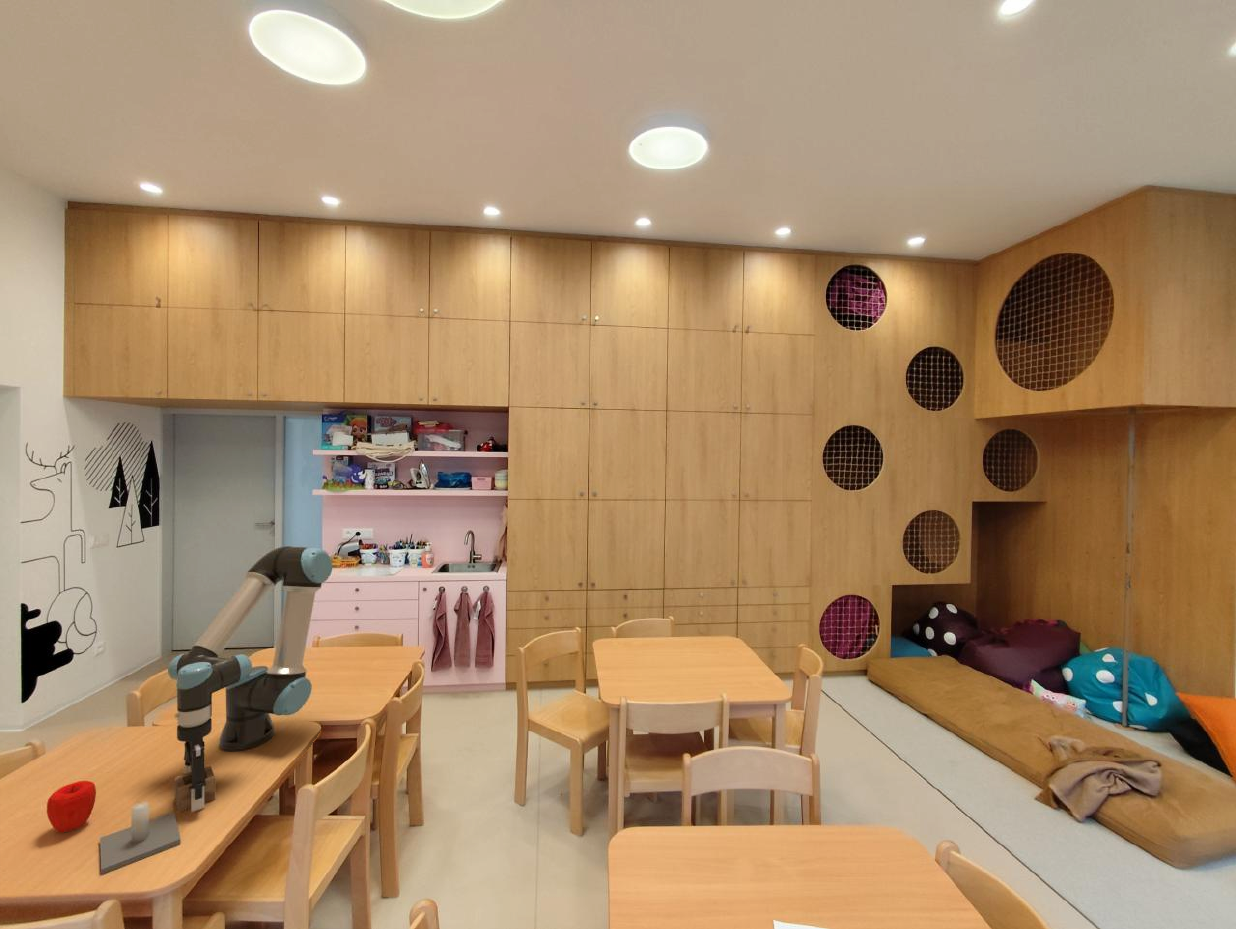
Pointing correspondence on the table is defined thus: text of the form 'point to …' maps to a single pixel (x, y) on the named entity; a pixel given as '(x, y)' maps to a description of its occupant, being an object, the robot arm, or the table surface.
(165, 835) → the stand
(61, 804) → the apple
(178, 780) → the frame
